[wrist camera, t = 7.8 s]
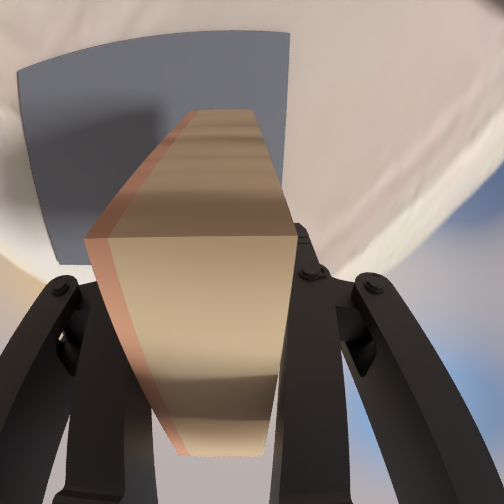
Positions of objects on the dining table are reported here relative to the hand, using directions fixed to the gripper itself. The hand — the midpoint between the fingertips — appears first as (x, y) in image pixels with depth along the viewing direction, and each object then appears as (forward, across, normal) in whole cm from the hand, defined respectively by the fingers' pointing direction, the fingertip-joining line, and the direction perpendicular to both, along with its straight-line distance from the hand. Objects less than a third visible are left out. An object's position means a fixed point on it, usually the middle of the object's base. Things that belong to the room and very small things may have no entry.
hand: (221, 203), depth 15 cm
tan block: (+2, 0, 0) cm, 2 cm away
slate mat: (+7, -6, 0) cm, 9 cm away
